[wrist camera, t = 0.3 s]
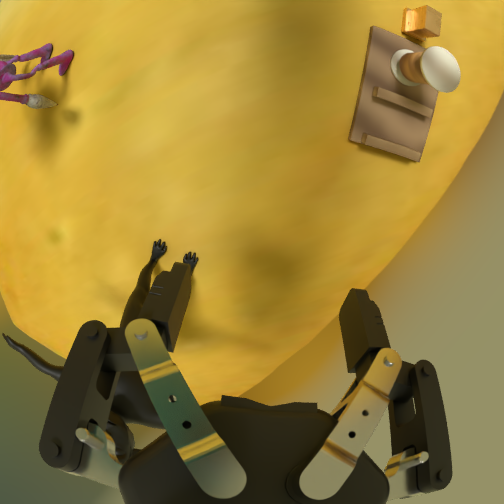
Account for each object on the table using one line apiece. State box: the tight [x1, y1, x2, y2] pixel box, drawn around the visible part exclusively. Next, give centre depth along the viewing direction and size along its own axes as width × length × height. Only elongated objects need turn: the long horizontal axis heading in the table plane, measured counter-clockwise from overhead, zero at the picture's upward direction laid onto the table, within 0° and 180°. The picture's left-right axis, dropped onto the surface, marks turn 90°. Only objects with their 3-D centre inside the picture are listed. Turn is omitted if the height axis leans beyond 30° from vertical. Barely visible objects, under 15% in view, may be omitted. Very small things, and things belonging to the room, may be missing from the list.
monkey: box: [3, 239, 198, 465], centre depth 36 cm, size 40×20×40 cm, turn 67°
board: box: [348, 26, 460, 162], centre depth 25 cm, size 18×12×10 cm, turn 172°
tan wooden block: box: [401, 5, 442, 42], centre depth 19 cm, size 4×4×6 cm
